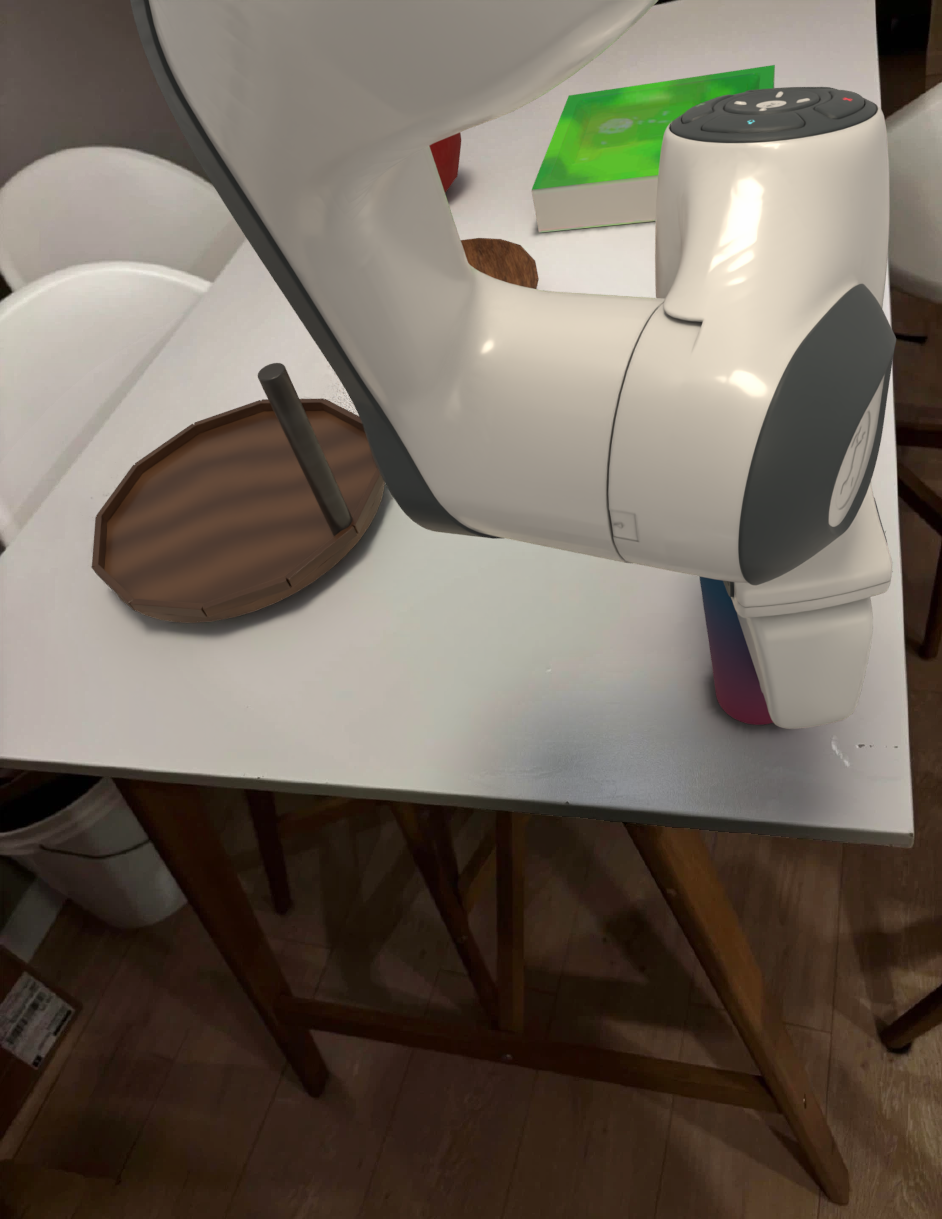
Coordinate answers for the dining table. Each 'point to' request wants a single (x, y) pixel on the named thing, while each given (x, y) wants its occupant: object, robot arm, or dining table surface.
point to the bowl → (502, 261)
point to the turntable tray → (239, 508)
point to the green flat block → (620, 148)
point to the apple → (447, 158)
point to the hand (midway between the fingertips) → (757, 634)
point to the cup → (731, 658)
